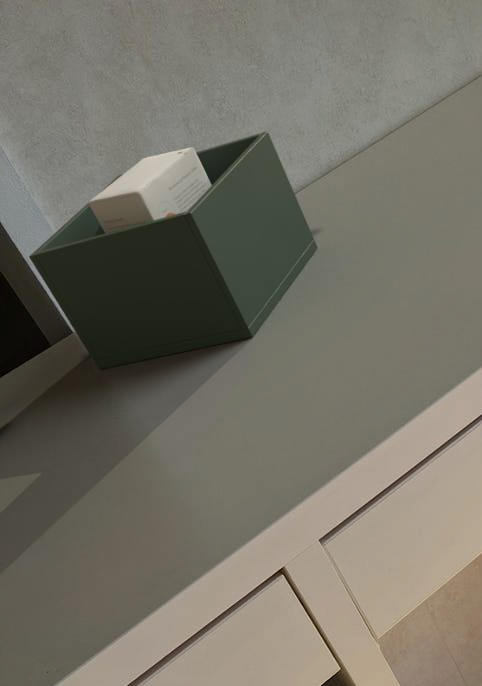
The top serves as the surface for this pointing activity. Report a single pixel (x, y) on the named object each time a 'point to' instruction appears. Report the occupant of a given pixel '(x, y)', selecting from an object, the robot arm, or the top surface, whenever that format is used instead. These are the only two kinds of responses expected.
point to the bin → (183, 263)
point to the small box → (152, 190)
